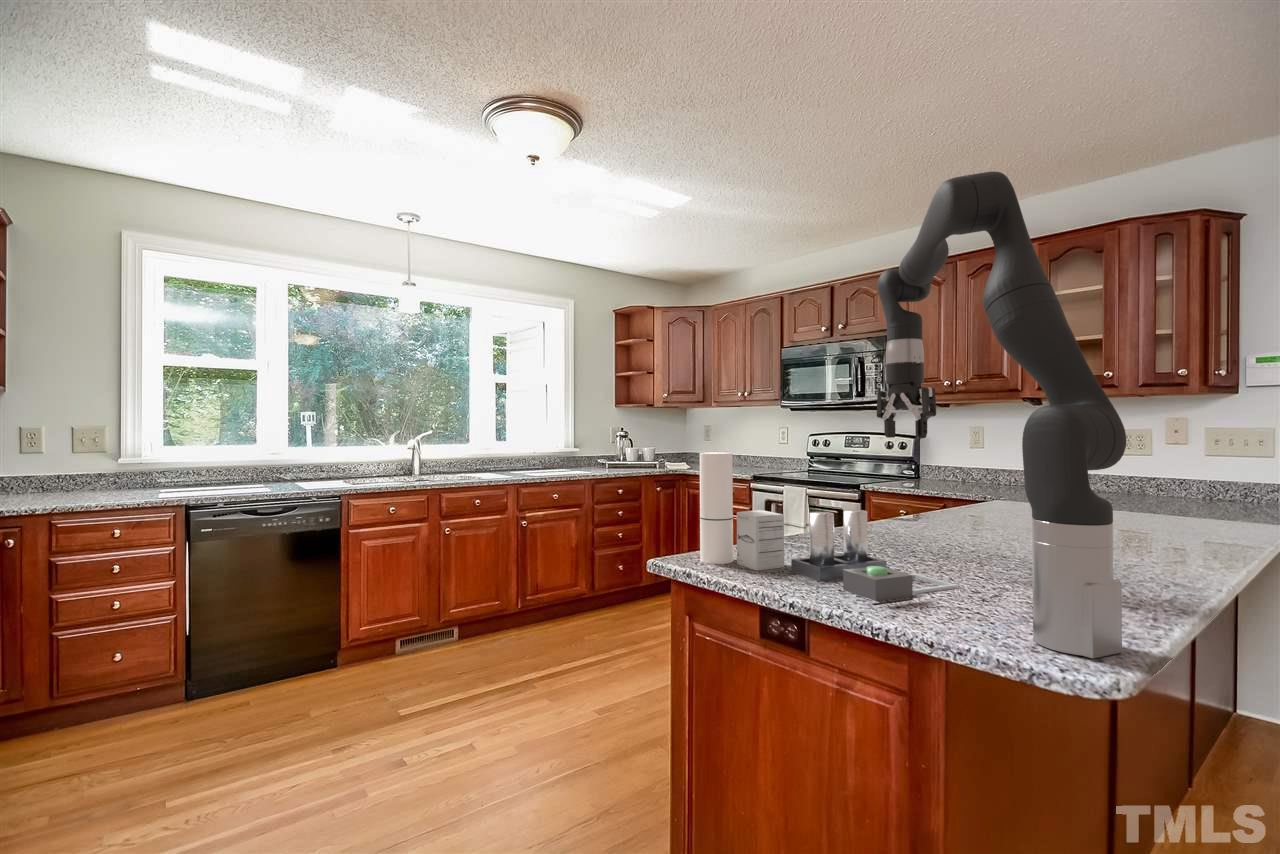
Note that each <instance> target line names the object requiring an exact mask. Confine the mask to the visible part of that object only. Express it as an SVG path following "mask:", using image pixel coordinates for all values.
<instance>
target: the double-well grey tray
mask: <svg viewBox="0 0 1280 854" xmlns="http://www.w3.org/2000/svg"><path fill="white" fill-rule="evenodd" d="M790 563H791V565H790V566H791V569H790V571H791V572H792V573H794V574H796V575H800V576H803V577H805V578H808V579H811V580H813V581H817V582H820V583H821V582H822V583H823V582H828V581H829V582H830V581H838V580H843V570H847V569H856V568H865V567H868V566H881V567H885V568H887V567H888V566H887V565H888V564H887V560H883V559H880V558H876V557H873V556H868V561H866V562H857V563H851V562H848V561H844V553H841V554H840V553H839V554H834V565H829V566H816V565H812V564H810V556H809V557H799V558H791V560H790Z"/></svg>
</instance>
